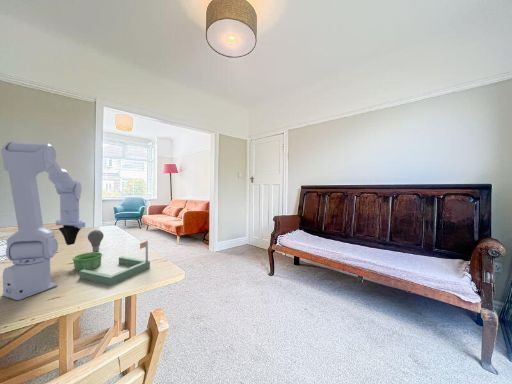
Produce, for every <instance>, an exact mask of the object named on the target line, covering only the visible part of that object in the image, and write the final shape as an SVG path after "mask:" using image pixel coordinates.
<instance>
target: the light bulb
mask: <svg viewBox="0 0 512 384" xmlns="http://www.w3.org/2000/svg"><path fill="white" fill-rule="evenodd" d="M104 236H105V235H104V233H103V231H101V230H99V229H95V230H92V231H90V232H89V233H88V235H87V239H88V241H89V243H90V244H91V247H92V252H99V251H100V246H101V242H102V240H103V239H104Z"/></svg>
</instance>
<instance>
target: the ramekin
mask: <svg viewBox="0 0 512 384" xmlns="http://www.w3.org/2000/svg"><path fill="white" fill-rule="evenodd" d="M102 257H103V253H102V252H100V251H96V252H94V251H92V252H86V253H85V252H84V253H79V254H77V255H75V256H73V257H72V261H73V265H74V266H73V267H74V270H75V271H81V270H84V269H85V270H89V271H91V270H94V269H96V268H98V267H100V266H101V264H102Z"/></svg>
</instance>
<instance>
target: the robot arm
mask: <svg viewBox="0 0 512 384" xmlns="http://www.w3.org/2000/svg"><path fill="white" fill-rule="evenodd" d="M0 153H1V159H2V165H3V169H4V170H3V171H5V172H7V173H8V176H9V177H8V178H9V183H10V189H11V195H12V200H13V206H14V213H15V218H16V222H17V223H16V224H17V229H18V231H16V232H14V233H13V234H12V235H10V236H9V237H8V238H7V240H6V249H5V255H6V258H7V259H8V260H9V261H10V262H12V264H13V265H10V266H7V267H5V268H4V269H3V272H2V290H3V291H2V292H3V293H1V296H3V297H6V298H9V299H12V300H16V301H20V300H24V299H25V298H28V297H31V296H33V295H36V294H39V293H41V292H44V291H47V290H50V289H53V288H55V287H57V286H59V284H58V283H55V282H52V280H51V279H52V278H51V276H52V275H51V259H52V258H53V257H54V256H55V255H56V254H57V252H58V249H59V243H58V240H57V238H56V236H55V233H54V231H52V230H51V229H48V228H46V227H45V226H44V224H43V223H44V222H43V215H42V209H41V203H40V194H39V188H38V181H37V176H38V174H40V173H43V172H44V173H45V172H46V173H47V174H48V175H47V176H48V177H47V178H48V180H49V181H50V182H51V183H52V184H53V185H54V188H55V191H56V193H57V194H58V195H59V208H60V210H59V211H60V212H59V213H60V215H59V217H60V219H58V220H55V226H62V227H58V231H60V233H61V234H62V236H63V238H64V241H65V244H66V245H67V246H71V245H75V244H76V241H77V236H78V235H79V232H80V231H81V229H82V228H86V222H84V221H83V220H82V219H80V199H81V195H82V188H83V187H82V183H81V182H80V181H78V180H75V179H74V178H73V177H72V175H71V174H70V173H69V172H68V171H67V170H66V169H64V168H61V167H60V165H59V164H58V162H57V153H56V150H55V147H54V146H53V145H52V144H50V143H34V142H16V141H7V142H5V144H4V145H3V146H2V148H1V149H0Z"/></svg>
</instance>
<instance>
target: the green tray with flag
mask: <svg viewBox="0 0 512 384" xmlns="http://www.w3.org/2000/svg"><path fill="white" fill-rule="evenodd" d="M144 248H145V259H140V258H133V257H128V256H120V257H118V264H119V265H123V266H130V267H128V268H125V269H123V270H120V271H118V272H116V273H114V274H107V273H102V272H98V271H94V270H85V269H84V270H81V271H79V272H78V275H79V279H81V280H86V281H90V282H93V283H98V284H101V285H102V284H103V285H106V286H112V285H114V284H117V283H118V282H122V281H123V280H126V279H128V278H130V277H132V276H135V275H137V274H139V273H141V272H143V271H145V270H148V269H149V267H150V268H151V266H150V265H151V261H150V260H149V241H148V240H145V241H142V242H140V243H139V249H140V250H141V249H144ZM147 268H148V269H147Z"/></svg>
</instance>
